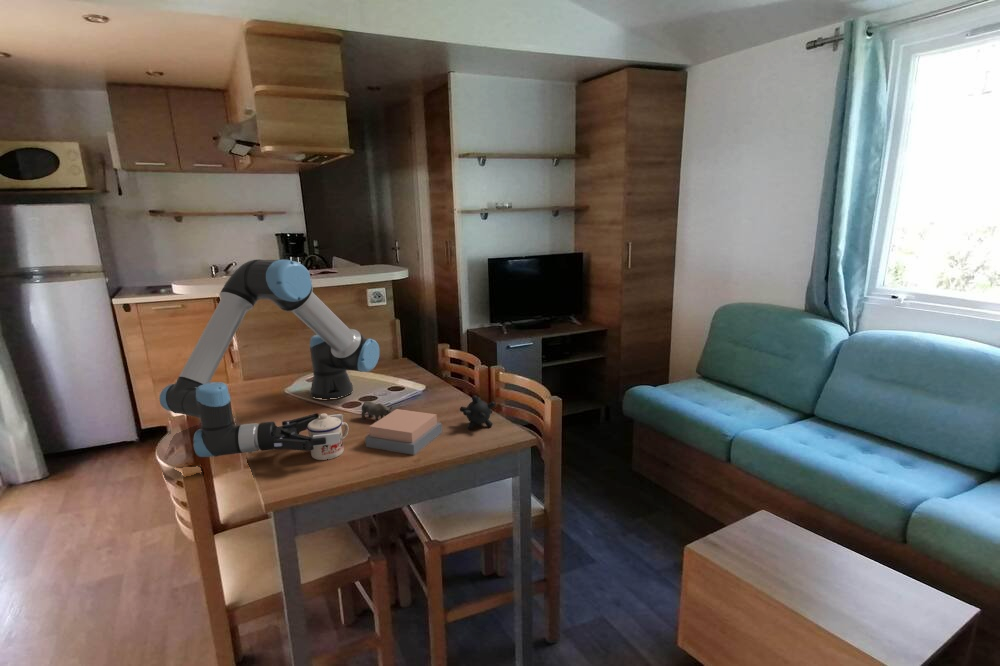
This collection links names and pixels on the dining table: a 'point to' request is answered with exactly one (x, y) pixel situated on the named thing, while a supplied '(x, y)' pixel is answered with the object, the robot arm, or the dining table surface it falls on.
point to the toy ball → (478, 412)
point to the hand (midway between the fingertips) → (341, 427)
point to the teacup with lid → (326, 427)
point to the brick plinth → (404, 444)
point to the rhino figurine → (375, 410)
